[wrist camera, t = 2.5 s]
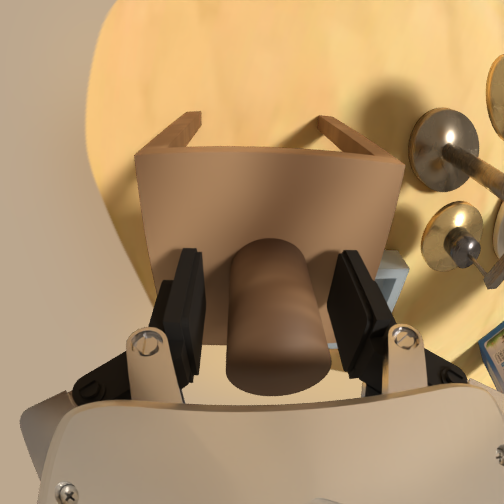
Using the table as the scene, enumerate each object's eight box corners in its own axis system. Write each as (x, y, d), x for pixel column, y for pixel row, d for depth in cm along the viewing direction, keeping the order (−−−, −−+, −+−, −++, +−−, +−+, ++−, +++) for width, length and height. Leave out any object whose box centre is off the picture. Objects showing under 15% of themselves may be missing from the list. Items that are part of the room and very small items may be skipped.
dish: (397, 250, 26) (409, 268, 23) (369, 325, 31) (376, 344, 29) (291, 248, 25) (296, 269, 23) (280, 329, 31) (283, 350, 28)
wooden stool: (332, 116, 19) (484, 232, 6) (316, 238, 25) (374, 420, 12) (186, 111, 19) (66, 223, 6) (193, 237, 24) (153, 426, 11)
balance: (485, 62, 15) (613, 102, 4) (445, 240, 25) (522, 343, 14) (421, 35, 15) (568, 47, 4) (386, 238, 25) (459, 361, 14)
